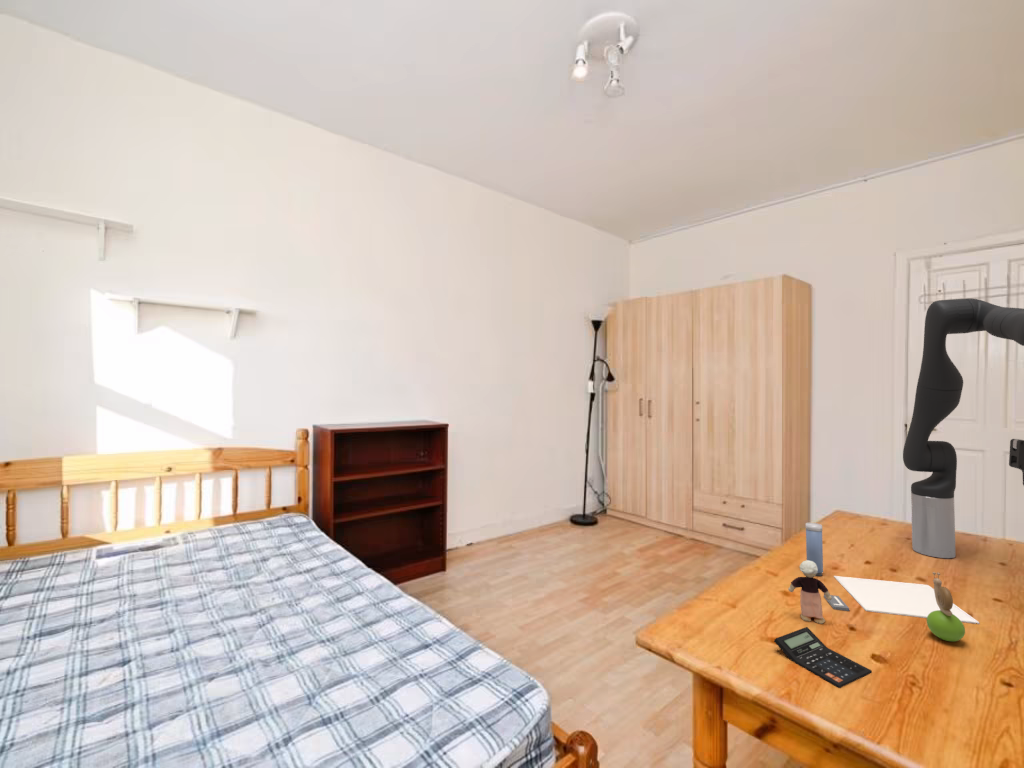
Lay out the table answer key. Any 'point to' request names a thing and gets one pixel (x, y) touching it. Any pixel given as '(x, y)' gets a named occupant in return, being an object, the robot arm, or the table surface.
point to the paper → (897, 598)
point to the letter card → (837, 603)
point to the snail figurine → (944, 615)
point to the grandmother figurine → (810, 592)
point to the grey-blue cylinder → (814, 545)
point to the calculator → (820, 658)
